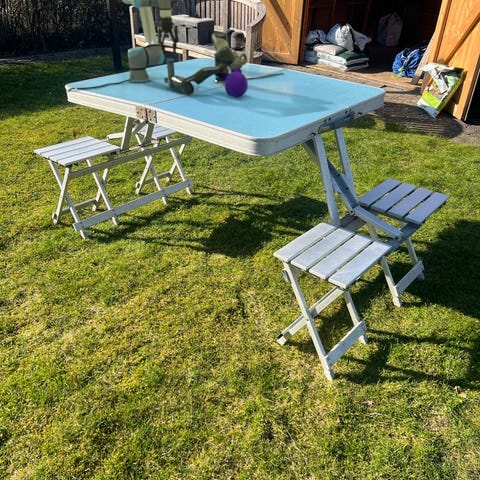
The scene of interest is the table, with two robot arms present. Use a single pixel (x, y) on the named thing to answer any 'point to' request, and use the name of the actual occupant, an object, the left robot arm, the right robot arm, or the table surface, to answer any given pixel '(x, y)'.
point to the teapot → (238, 61)
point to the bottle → (170, 73)
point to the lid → (170, 61)
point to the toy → (234, 82)
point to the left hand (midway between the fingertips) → (169, 54)
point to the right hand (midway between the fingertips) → (170, 78)
